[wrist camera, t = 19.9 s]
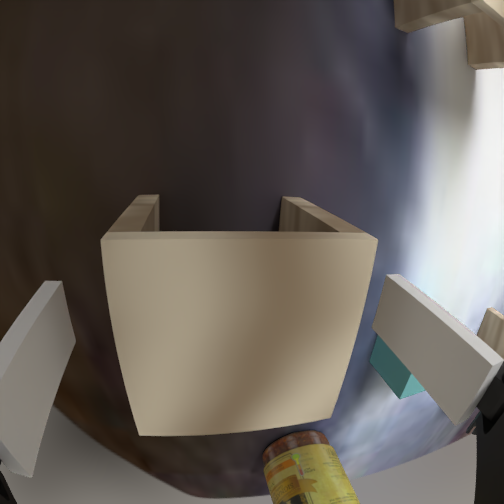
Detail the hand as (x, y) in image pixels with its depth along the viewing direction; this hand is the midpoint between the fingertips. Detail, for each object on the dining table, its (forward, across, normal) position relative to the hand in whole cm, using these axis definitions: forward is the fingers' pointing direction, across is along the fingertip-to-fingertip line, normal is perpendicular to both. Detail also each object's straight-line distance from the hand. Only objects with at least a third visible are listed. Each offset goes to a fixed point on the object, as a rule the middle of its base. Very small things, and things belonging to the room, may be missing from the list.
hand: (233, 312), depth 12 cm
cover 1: (+5, 0, 0) cm, 5 cm away
